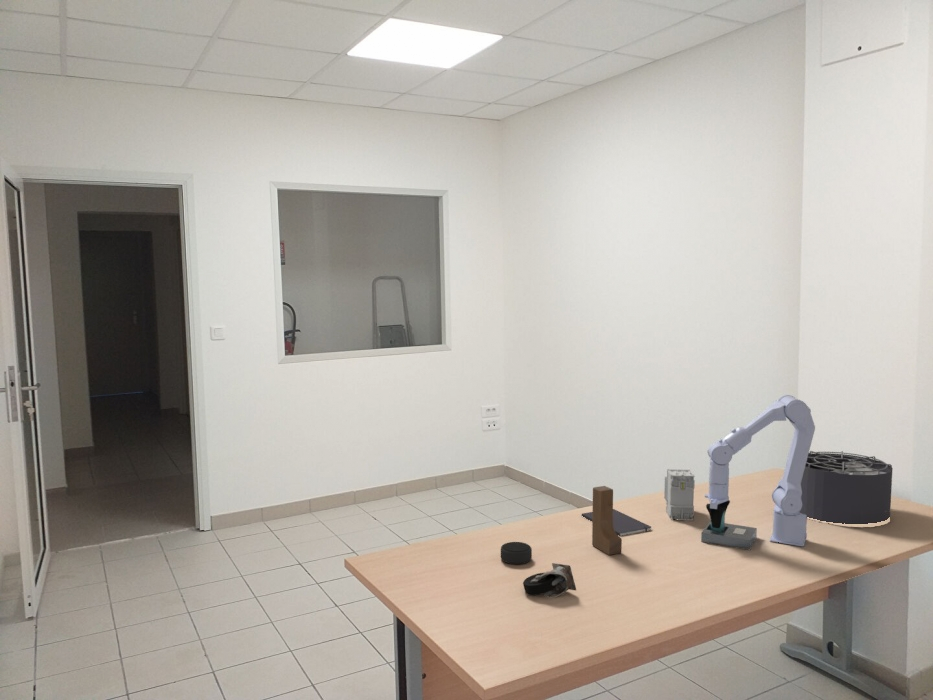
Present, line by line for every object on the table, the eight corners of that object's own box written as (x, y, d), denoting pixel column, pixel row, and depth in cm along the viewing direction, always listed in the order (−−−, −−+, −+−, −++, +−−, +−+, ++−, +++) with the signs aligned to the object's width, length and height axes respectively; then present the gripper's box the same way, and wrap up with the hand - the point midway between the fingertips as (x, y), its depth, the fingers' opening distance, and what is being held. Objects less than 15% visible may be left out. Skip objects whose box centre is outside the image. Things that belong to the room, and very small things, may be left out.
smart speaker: (534, 555, 214) (534, 542, 213) (528, 567, 205) (528, 553, 205) (504, 552, 216) (504, 539, 216) (497, 564, 208) (497, 550, 207)
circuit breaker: (685, 507, 258) (686, 465, 256) (693, 520, 244) (694, 476, 242) (663, 506, 258) (664, 464, 257) (670, 519, 244) (671, 475, 243)
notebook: (581, 518, 248) (619, 538, 229) (581, 513, 248) (619, 533, 229) (612, 512, 254) (652, 531, 234) (612, 508, 253) (652, 527, 234)
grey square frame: (756, 537, 227) (756, 527, 227) (749, 550, 217) (750, 539, 217) (709, 530, 234) (710, 520, 234) (701, 541, 224) (701, 531, 223)
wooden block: (622, 553, 215) (622, 493, 213) (609, 555, 213) (610, 495, 211) (604, 543, 223) (604, 485, 221) (591, 545, 221) (592, 487, 219)
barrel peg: (725, 529, 228) (726, 510, 227) (722, 533, 224) (723, 513, 224) (712, 526, 230) (713, 508, 229) (709, 530, 226) (709, 511, 226)
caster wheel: (520, 600, 190) (547, 584, 196) (551, 606, 181) (578, 589, 187) (514, 575, 189) (541, 560, 196) (544, 580, 181) (571, 564, 187)
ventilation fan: (897, 475, 229) (792, 465, 242) (894, 533, 230) (790, 520, 243) (890, 454, 255) (795, 446, 268) (887, 506, 257) (793, 495, 270)
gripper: (710, 475, 234) (709, 516, 235) (700, 486, 221) (698, 530, 223) (733, 478, 230) (732, 520, 232) (724, 489, 218) (723, 534, 219)
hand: (717, 525), depth 227 cm, fingers closed on barrel peg, 4 cm apart
